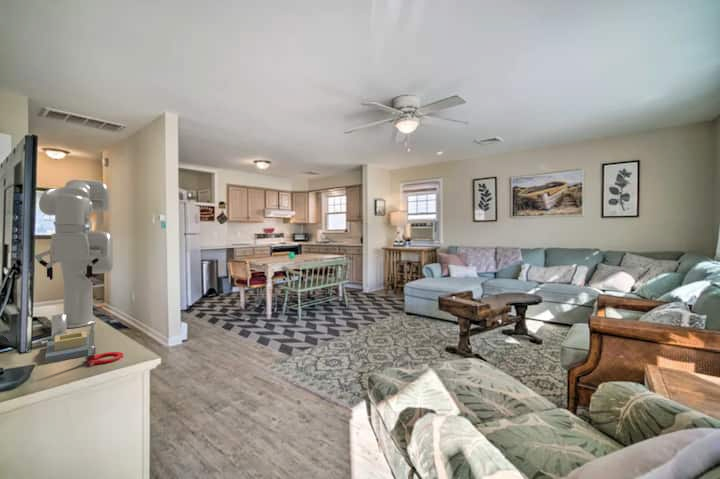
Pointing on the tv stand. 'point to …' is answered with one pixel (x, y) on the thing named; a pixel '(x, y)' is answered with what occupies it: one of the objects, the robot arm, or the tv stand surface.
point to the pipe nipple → (59, 325)
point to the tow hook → (92, 359)
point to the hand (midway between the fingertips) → (70, 277)
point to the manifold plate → (67, 347)
